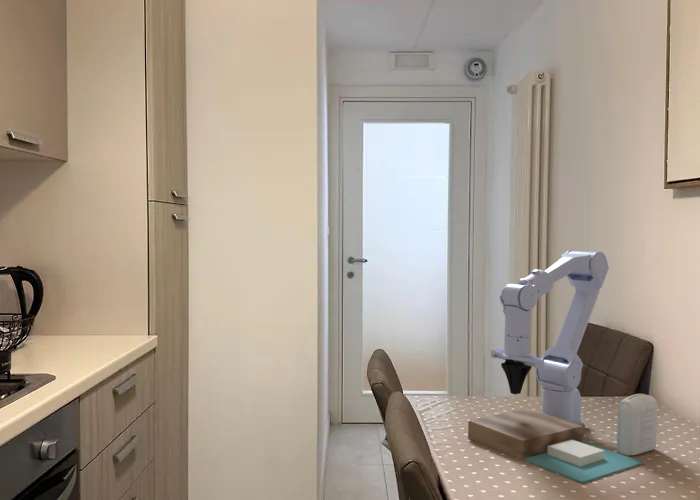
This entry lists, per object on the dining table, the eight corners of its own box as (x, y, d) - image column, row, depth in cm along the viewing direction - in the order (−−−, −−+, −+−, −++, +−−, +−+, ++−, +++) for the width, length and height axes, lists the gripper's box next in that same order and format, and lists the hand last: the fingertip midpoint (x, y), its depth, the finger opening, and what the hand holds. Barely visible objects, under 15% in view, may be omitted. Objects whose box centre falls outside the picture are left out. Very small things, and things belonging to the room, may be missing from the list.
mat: (585, 444, 142) (585, 442, 142) (644, 463, 131) (644, 461, 130) (524, 460, 131) (524, 458, 131) (582, 483, 120) (582, 481, 119)
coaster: (571, 447, 138) (571, 439, 138) (604, 459, 132) (604, 450, 132) (547, 454, 134) (547, 445, 134) (580, 466, 127) (580, 457, 127)
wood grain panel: (527, 424, 156) (528, 408, 156) (583, 443, 143) (584, 425, 142) (468, 437, 145) (468, 420, 145) (522, 459, 132) (523, 440, 131)
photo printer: (640, 443, 143) (642, 389, 143) (659, 449, 139) (661, 393, 139) (613, 452, 137) (615, 395, 137) (631, 458, 134) (633, 400, 133)
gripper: (482, 332, 152) (480, 388, 153) (529, 341, 140) (528, 402, 140) (503, 330, 156) (501, 385, 156) (551, 339, 144) (549, 398, 144)
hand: (515, 393), depth 149 cm, fingers closed
